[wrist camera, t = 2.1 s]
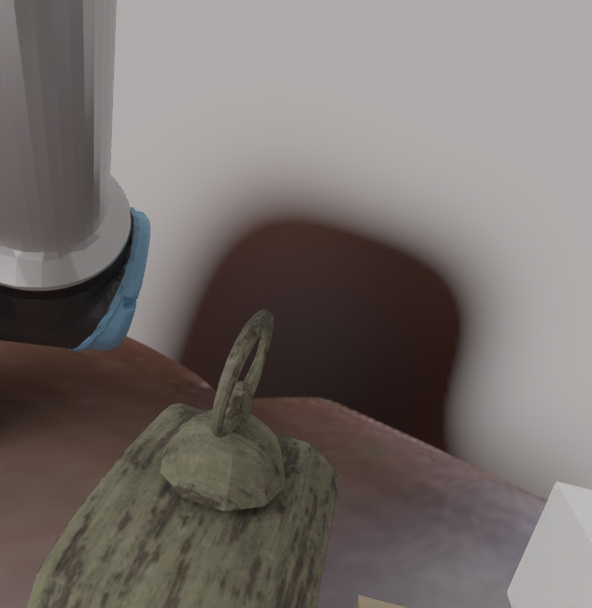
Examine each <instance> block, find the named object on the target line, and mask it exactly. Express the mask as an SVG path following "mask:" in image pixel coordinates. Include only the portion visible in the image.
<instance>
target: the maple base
mask: <svg viewBox="0 0 592 608" xmlns="http://www.w3.org/2000/svg"><path fill="white" fill-rule="evenodd" d="M354 608H407V607H403V606H399V605H395V604H392V603H388V602H384V601H380V600H376V599H372V598H368V597H365V596H361V595H358V598H357V601H356V604H355V606H354Z"/></svg>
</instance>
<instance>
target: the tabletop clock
mask: <svg viewBox="0 0 592 608" xmlns="http://www.w3.org/2000/svg"><path fill="white" fill-rule="evenodd" d="M273 327H274V317H273V315H272V314H271V313H270V312H269V311H268V310H261V311H259V312H257V313H256V314H254V315H253V316H252V317H251V319H250V320H249V321H248V322H247V323H246V325H245V326H244V328H243V330H242V331H241V333H240V335H239V336H238V338H237V340H236V341H235V343H234V346H233V348H232V350H231V352H230V354H229V356H228V359H227V361H226V364H225V367H224V370H223V372H222V375H221V378H220V381H219V385H218V389H217V393H216V397H215V401H214V405H213V409H209V410H207V411H204V410H200V409H197V408H194V407H191V406H187V405H184V404H181V403H176V404H172V405H170V406H169V407H167V408H166V409H165V410H164V411H163V412H161V413H160V414H159V415H158V416H157V417H156V418H155V419H154V420H153V422H152V423H151V424H150V425H149V426H148V427H147V428H146V429H145V430H144V431H143V432H142V433H141V434H140V435H139V436H138V437H137V438H136V439H135V440H134V441H133V442H132V443H131V444H130V445H129V446H128V447H127V449H126V450H125V451H124V452H123V454H122V455H121V456H120V457H119V459H118V460H117V461H116V462H115V464H114V465H113V466H112V467H111V469H110V470H109V471H108V472H107V474H106V475H105V476H104V477H103V478H102V480H101V481H100V482H99V483H98V485H97V486H96V487H95V488H94V490H93V491H92V492H91V493H90V495H89V496H88V497H87V498H86V500H85V501H84V502H83V504H82V505H81V506H80V508H79V509H78V510H77V511H76V513H75V514H74V516H73V517H72V518H71V520H70V521H69V523H68V524H67V526H66V527H65V529H64V530H63V531H62V533H61V534H60V536H59V538H58V539H57V541H56V543H55V544H54V546H53V548H52V549H51V551H50V553H49V554H48V556H47V557H46V559H45V561H44V562H43V564H42V566H41V567H40V569H39V571H38V573H37V576H36V579H35V582H34V585H33V588H32V592H31V595H30V598H29V601H28V604H27V607H26V608H316V603H317V598H318V593H319V588H320V582H321V577H322V572H323V567H324V561H325V556H326V551H327V546H328V541H329V535H330V530H331V524H332V519H333V513H334V507H335V501H336V496H337V490H338V484H339V473H338V472H337V471H336V470H335V469H334V468H333V467H332V466H331V465H330V464H329V463H328V462H327V461H326V459H325V458H324V457H323V456H322V455H321V454H320V453H319V452H318V451H317V450H316V449H315V448H314V447H313V446H312V445H311V443H307V442H304V441H301V440H298V439H294V438H291V437H288V436H285V435H282V434H278V433H275V432H272V431H271V430H270V429H269V428H268V427H267V426H266V425H265V424H264V423H262V422H261V421H260V420H259V419H258V418H256V417H255V416H254V415H251V414H249V413H250V408H251V404H252V400H253V396H254V393H255V390H256V388H257V385H258V382H259V380H260V377H261V373H262V370H263V366H264V363H265V359H266V356H267V352H268V349H269V345H270V341H271V337H272V332H273ZM260 334H261V339H260V343H259V347H258V350H257V354H256V357H255V359H254V361H253V363H252V366H251V368H250V369H249V372H248V374H247V376H246V377H245V379H244V381H243V382H242V381H237V379H238V377H239V375H240V372H241V370H242V367H243V365H244V363H245V361H246V359H247V357H248V355H249V353H250V351H251V349H252V347H253V345H254V344H255V342H256V340H257V339H258V337H259V336H260Z"/></svg>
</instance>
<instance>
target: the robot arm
mask: <svg viewBox="0 0 592 608" xmlns="http://www.w3.org/2000/svg"><path fill="white" fill-rule="evenodd" d="M116 1H117V0H0V340H2V341H10V342H19V343H28V344H36V345H45V346H54V347H62V348H66V349H67V350H70V351H80V350H83V349H85V350H99V351H106V350H111V349H113V348H115V347H117V346H118V345H119V344H121V342H122V341H123V340H124V338H125V337H126V335H127V332H128V330H129V327H130V325H131V322H132V318H133V316H134V312H135V308H136V299H137V298H138V295H139V292H140V289H141V285H142V281H143V277H144V272H145V267H146V262H147V256H148V249H149V241H150V221H149V219H148V218H147V216H146V215H145V214H144V213H142V212H140V211H136V210H135V209H134V208H131V207H129V203H128V200H127V198H126V195H125V193H124V191H123V190H122V188H121V186H120V185H119V184H118V182H117V181H116V180H115V178H114V177H112V176H111V174H110V162H111V135H112V109H113V81H114V55H115V54H114V53H115V29H116ZM507 595H508V598H509V601H510V604H511V607H512V608H592V490H589V489H585V488H581V487H578V486H574V485H570V484H565V483H561V482H558V481H556V483H555V485H554V487H553V490H552V492H551V494H550V496H549V498H548V501H547V503H546V505H545V507H544V510H543V512H542V514H541V516H540V519H539V521H538V523H537V525H536V528H535V530H534V532H533V534H532V537H531V539H530V541H529V543H528V546H527V548H526V550H525V552H524V554H523V557H522V559H521V561H520V563H519V566H518V568H517V570H516V572H515V575H514V577H513V579H512V581H511V584H510V586H509V588H508V590H507Z"/></svg>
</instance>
